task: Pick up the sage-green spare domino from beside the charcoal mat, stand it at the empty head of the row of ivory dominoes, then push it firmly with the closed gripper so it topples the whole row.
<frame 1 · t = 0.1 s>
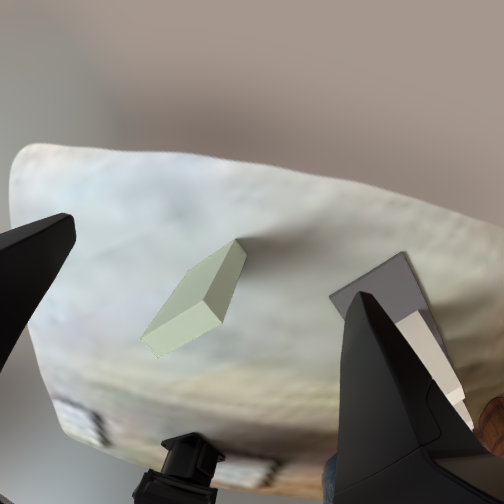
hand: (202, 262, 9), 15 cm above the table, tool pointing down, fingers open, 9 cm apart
canister: (367, 462, 34), on the table
domino 1: (396, 330, 26), resting on mat
spare domino: (216, 263, 26), on the table
mat: (415, 365, 27), on the table
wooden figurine: (500, 412, 30), on the table
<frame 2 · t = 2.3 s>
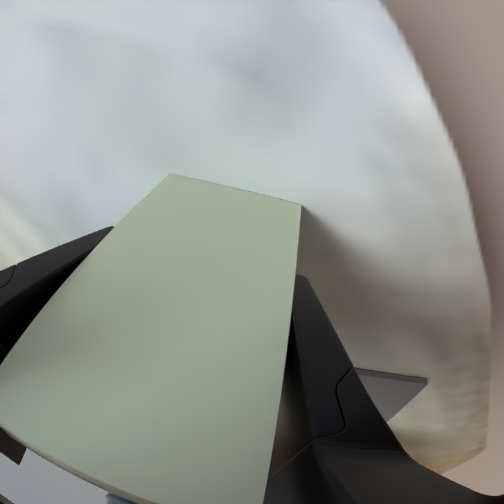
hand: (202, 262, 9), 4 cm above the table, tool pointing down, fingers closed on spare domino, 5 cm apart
spare domino: (230, 207, 12), on the table, touching gripper
mat: (308, 446, 23), on the table
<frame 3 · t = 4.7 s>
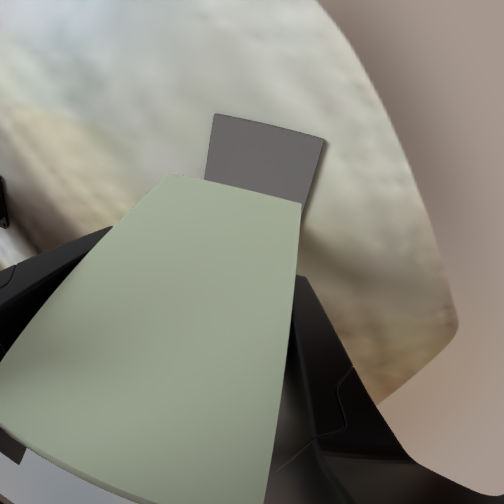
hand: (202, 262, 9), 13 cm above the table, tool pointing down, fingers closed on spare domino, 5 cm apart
spare domino: (230, 205, 12), point 9 cm above the table, touching gripper
mat: (236, 274, 26), on the table
when the fingers open (4 cm above the table, at t = 7.0 s): spare domino stays where it is, resting on mat.
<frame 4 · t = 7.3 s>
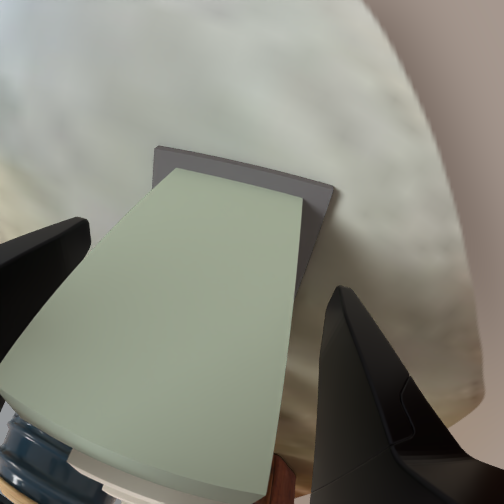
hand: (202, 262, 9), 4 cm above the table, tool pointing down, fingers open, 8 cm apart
canister: (95, 395, 28), on the table
domino 1: (218, 294, 15), resting on mat
spare domino: (234, 200, 12), resting on mat
mat: (209, 355, 19), on the table
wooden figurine: (268, 465, 30), on the table
domino 2: (208, 353, 18), resting on mat
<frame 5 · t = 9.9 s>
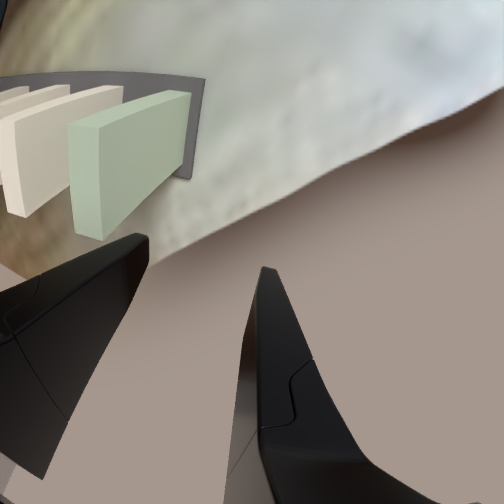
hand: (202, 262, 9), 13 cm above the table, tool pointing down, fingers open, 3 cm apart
domino 1: (111, 118, 20), resting on mat
spare domino: (175, 127, 19), resting on mat
domino 3: (23, 113, 20), resting on mat
mat: (58, 113, 20), on the table
domino 2: (62, 114, 20), resting on mat
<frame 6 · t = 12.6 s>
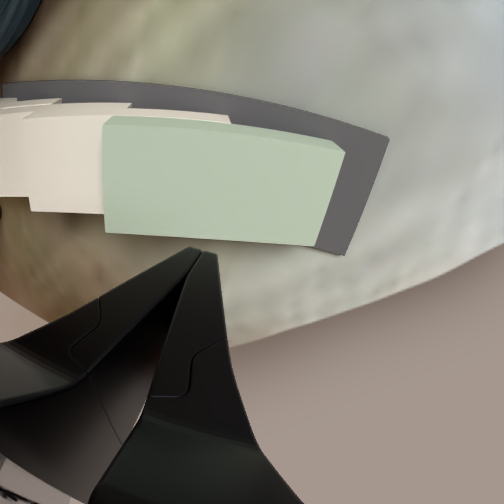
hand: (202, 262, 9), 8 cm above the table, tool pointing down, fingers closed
domino 1: (221, 168, 15), point 1 cm above the table, tilted 72°, touching domino 2, mat, spare domino
spare domino: (323, 194, 15), point 1 cm above the table, tilted 72°, touching domino 1, mat
domino 3: (56, 140, 15), point 1 cm above the table, tilted 71°, touching domino 2, domino 4
mat: (143, 144, 16), on the table
domino 2: (126, 151, 15), point 1 cm above the table, tilted 71°, touching domino 1, domino 3, mat
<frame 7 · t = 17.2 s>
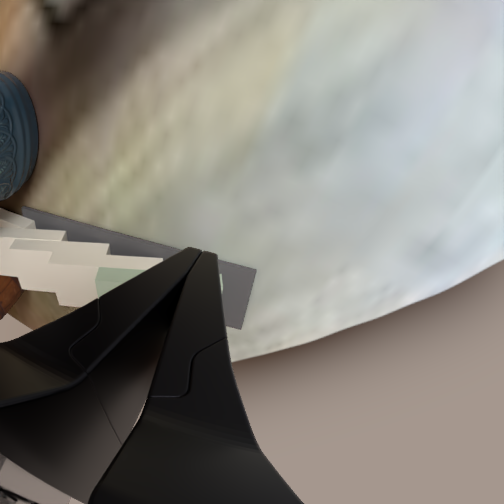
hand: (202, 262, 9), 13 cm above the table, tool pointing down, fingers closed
canister: (2, 130, 22), on the table
domino 4: (33, 245, 27), point 1 cm above the table, tilted 92°, touching domino 3, mat
domino 1: (162, 286, 27), point 1 cm above the table, tilted 72°, touching domino 2, mat, spare domino
spare domino: (218, 302, 26), point 1 cm above the table, tilted 72°, touching domino 1, mat
domino 3: (67, 257, 27), point 1 cm above the table, tilted 71°, touching domino 2, domino 4
mat: (120, 264, 28), on the table
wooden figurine: (6, 271, 33), on the table
domino 2: (110, 271, 27), point 1 cm above the table, tilted 71°, touching domino 1, domino 3, mat
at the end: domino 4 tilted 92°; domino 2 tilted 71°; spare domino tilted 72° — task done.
